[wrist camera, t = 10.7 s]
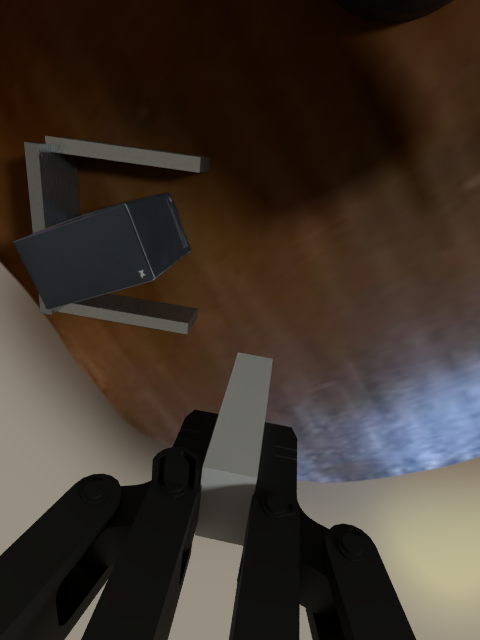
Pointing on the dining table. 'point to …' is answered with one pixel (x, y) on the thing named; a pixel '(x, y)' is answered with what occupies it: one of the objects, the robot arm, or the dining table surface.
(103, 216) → the small box
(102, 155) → the grey u-shaped bracket
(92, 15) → the dining table surface
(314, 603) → the robot arm
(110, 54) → the dining table surface
